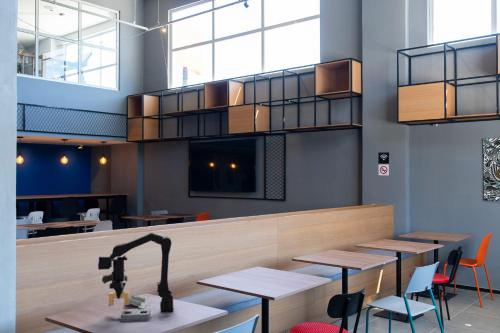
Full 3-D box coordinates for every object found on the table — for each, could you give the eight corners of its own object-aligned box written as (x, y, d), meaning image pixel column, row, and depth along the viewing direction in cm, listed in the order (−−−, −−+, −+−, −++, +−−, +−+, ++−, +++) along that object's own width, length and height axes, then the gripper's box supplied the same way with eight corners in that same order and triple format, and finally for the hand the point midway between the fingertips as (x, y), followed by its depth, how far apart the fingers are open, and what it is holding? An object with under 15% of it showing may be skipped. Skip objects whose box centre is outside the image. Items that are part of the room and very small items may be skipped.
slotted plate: (150, 315, 251) (150, 309, 251) (148, 320, 243) (148, 314, 243) (123, 316, 249) (123, 310, 249) (120, 321, 241) (120, 315, 241)
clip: (129, 303, 256) (128, 291, 256) (128, 305, 253) (128, 292, 253) (109, 304, 255) (109, 292, 255) (108, 305, 253) (108, 293, 253)
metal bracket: (121, 298, 264) (130, 291, 279) (119, 308, 264) (128, 301, 279) (146, 306, 263) (154, 299, 278) (143, 316, 263) (151, 308, 278)
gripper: (107, 265, 263) (107, 294, 263) (99, 272, 244) (99, 303, 244) (127, 265, 264) (127, 293, 264) (121, 272, 245) (121, 302, 245)
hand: (119, 298), depth 254 cm, fingers closed on clip, 2 cm apart
